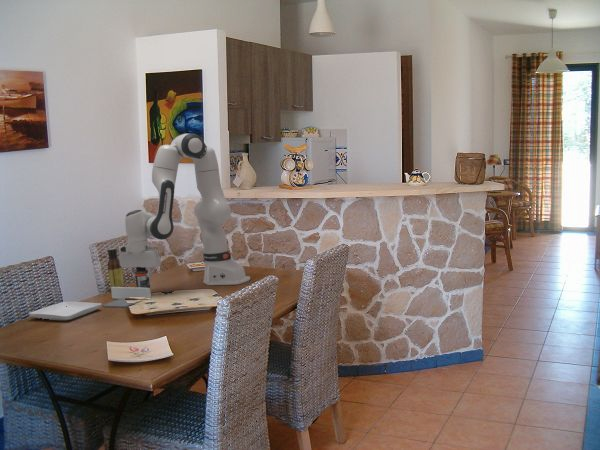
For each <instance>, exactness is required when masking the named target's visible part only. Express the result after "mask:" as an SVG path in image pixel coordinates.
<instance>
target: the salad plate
mask: <svg viewBox="0 0 600 450" xmlns="http://www.w3.org/2000/svg"><path fill="white" fill-rule="evenodd" d="M102 304H103V303H101V302H100V303H99V302H83V301H63V302H59V303H58V302H57V303H55V304H52V305H49V306H45V307H43V308H40V309H36V310H34V311H31V312H28V315H29V316H31V317H32V318H36V319H40V318H42V319H41V320H44V319H49V320H48V321H60V322H61V321H62V322H63V321H71V320H75V319H77V318H79V317H82V316H85V315H88V314H91V313H92V312H94V311H97V310H98V309H99V308H100V307H102ZM66 306H67V307H66Z"/></svg>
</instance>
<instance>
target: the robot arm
mask: <svg viewBox="0 0 600 450" xmlns="http://www.w3.org/2000/svg"><path fill="white" fill-rule="evenodd" d="M183 159H191V160H192V162H193V165H194V174H195V183H196V188H197V190H198V191H199V194H200V196H201V197H200V198H201V199H202V200H198V201H197V203H195V205H194V207H193V214H194V216H195V217H196V219H197V223H198V226H199V229H200V232H201V238H202V245H203V246H202V247H203V254H202V255H203V263H204V275H203V281H202V282H203V284H206V286H232V285H236V286H237V285H241V284H244V283H248V281H250V280H251V276H248V275H247V276H246V272H245V268H244V266H243V265H241V264H240V263H238V262H237V261H235V260H234V259H233V258H232V256H233V252H230V251H229V250H228V243H227V242H228V241H227V234H226V232H225V231H224V229H223V226H222V224H223V223H225V222H228V220H230V218H231V214H232V209H231V207H230V206H229V204H228V203H227V200H226V197H225V194H224V191H223V188H222V183H221V176H220V170H219V169H220V168H219V163H218V158H217V155H216V151H215V150H214V148H212V147H210V146H207V145H206V144H205V142H204V139H203V138H202V137H201V136H200V135H198V134H196V133H182V134H178V135H176V136H175V137H173V138H172V139H171V141H170V142H169V143H168V144H163V145H160V146H159V147H158V149H157V151H156V154H155V157H154V161H153V164H152V170H151V182H152V184H153V185H154V187H155V188H156V190H157V191H158V205H157V211H156V214H151V213H148V212H145V211H143V210H142V209H135V210H132V211H129V212H128V213H126V215H125V219H124V220H125V221H124V222H125V226H124V227H125V232H126V236H127V241H126V242H127V244H125V245H122V246H120V247H119V248H118V252H119V255H118V257H119V258H118V260H119V262H120V266H121V267H122V268H125V269H129V271H130V272H131V274H132V278H135V272H136V267H141V268H145V269H146V270H148V273H146V275H147V276H146V277H149V278H151V277H152V272H153V268H158V267H160V266H161V265H162V260H161V257H160V252H159V249H158V247H156V246H153V245H152V246H149V242H148V237H153V238H155V239H157V240H160V241H161V240H167V239H168V238H170V237H171V235H173V233H174V227H175V226H174V223H173V207H174V199H175V188H176V180H177V176H178V169H179V164H180V162H181V160H183Z"/></svg>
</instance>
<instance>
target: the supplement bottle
mask: <svg viewBox="0 0 600 450" xmlns="http://www.w3.org/2000/svg"><path fill="white" fill-rule="evenodd" d="M146 273H148V270H147V268H146V267H145V268H141V267H136V268H135V277H134V278H135V285H136V287H139V288H150V289H151V284H150V277H146V276H147V275H146Z"/></svg>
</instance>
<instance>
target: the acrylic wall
mask: <svg viewBox="0 0 600 450" xmlns="http://www.w3.org/2000/svg"><path fill="white" fill-rule="evenodd" d="M110 291H111V298H112V299H116V300H118V299H125V298H129V297H145V298H151V299H152V297H151V296H152V295H151V287H150V288H139V287H137V286H136V287H131V286H130V287H129V286H124V287H111V286H110Z"/></svg>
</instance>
